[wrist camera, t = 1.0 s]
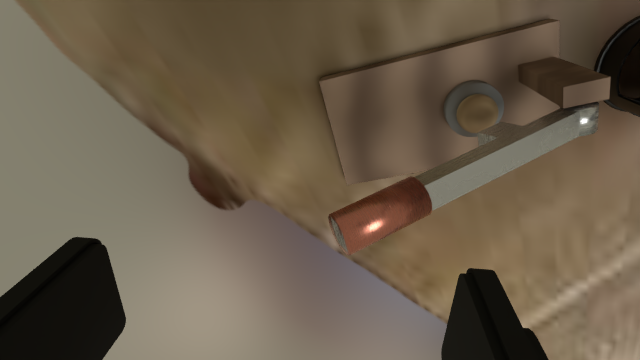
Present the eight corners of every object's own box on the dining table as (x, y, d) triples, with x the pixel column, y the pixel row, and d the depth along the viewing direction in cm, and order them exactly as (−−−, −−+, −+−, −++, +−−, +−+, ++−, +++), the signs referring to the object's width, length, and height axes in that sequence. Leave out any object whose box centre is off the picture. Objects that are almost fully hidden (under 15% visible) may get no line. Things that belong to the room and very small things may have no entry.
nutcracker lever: (556, 91, 31) (609, 96, 27) (556, 123, 32) (607, 132, 28) (316, 200, 25) (343, 225, 21) (327, 234, 26) (354, 263, 23)
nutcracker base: (549, 18, 34) (621, 30, 25) (550, 138, 39) (610, 186, 30) (321, 77, 39) (306, 106, 29) (347, 177, 44) (342, 230, 34)
